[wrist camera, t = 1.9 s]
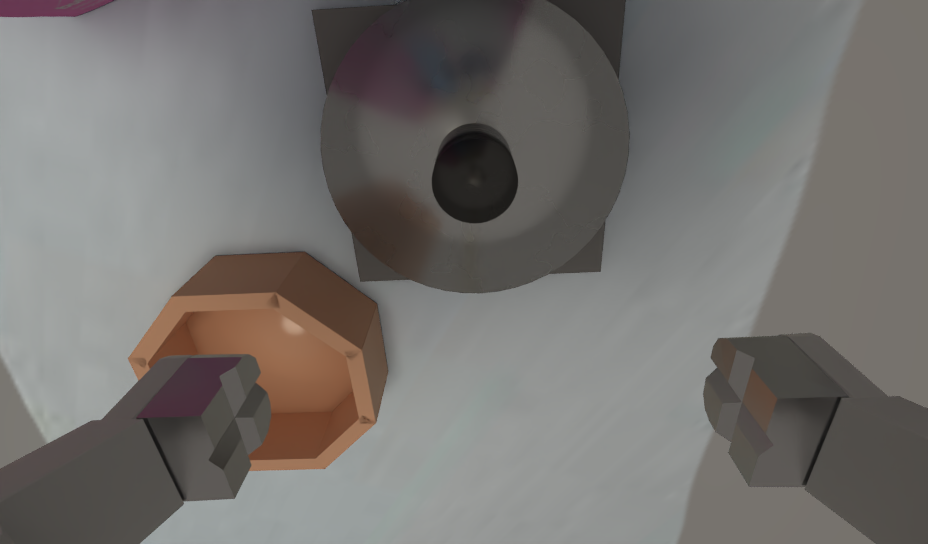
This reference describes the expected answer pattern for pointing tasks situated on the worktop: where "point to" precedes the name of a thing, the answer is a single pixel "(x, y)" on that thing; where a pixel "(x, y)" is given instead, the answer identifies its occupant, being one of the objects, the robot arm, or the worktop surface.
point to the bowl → (283, 348)
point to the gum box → (48, 7)
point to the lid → (474, 141)
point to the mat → (589, 3)
